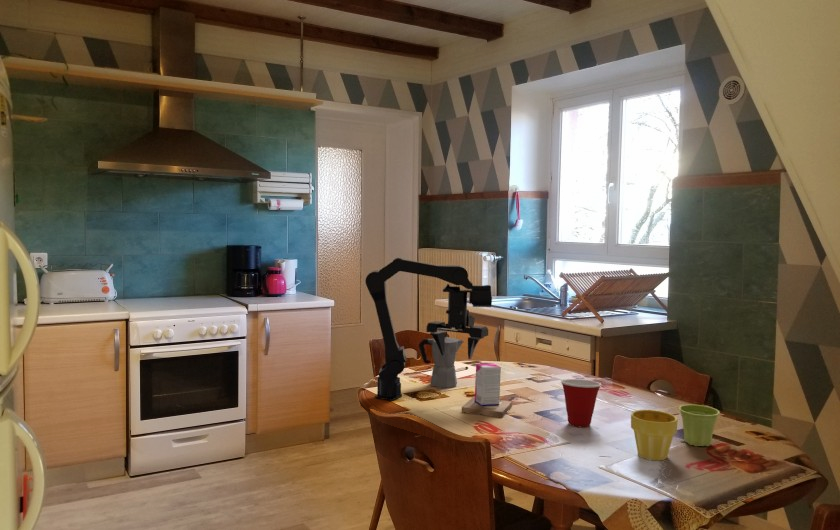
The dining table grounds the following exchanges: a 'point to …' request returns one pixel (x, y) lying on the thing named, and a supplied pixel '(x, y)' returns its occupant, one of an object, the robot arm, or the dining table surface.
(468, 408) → the base board
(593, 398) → the plastic cup
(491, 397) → the supplement box
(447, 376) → the coffeepot
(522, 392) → the dining table surface
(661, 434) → the plant pot
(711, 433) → the plant pot
